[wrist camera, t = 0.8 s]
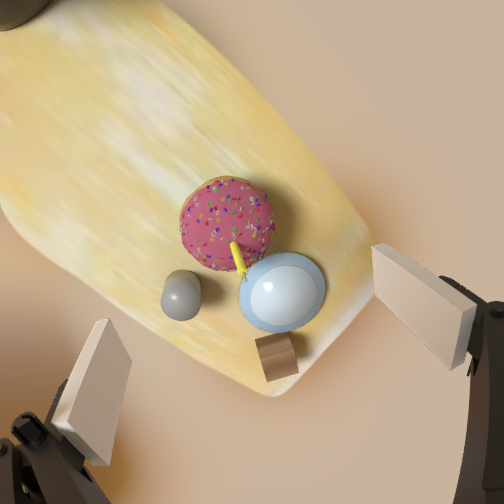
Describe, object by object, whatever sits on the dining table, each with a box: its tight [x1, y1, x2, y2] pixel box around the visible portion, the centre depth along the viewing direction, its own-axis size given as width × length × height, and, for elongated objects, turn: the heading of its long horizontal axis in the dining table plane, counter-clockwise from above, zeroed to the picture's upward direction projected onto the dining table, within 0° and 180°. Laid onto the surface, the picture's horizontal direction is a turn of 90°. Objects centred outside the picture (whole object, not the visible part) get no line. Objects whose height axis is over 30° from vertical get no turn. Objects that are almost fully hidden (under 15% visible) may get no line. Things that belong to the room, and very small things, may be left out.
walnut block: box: [255, 332, 299, 382], centre depth 36 cm, size 4×4×4 cm
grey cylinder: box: [161, 270, 201, 321], centre depth 31 cm, size 4×4×4 cm
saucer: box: [238, 251, 325, 333], centre depth 35 cm, size 10×10×1 cm
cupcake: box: [179, 176, 275, 282], centre depth 26 cm, size 9×8×12 cm
